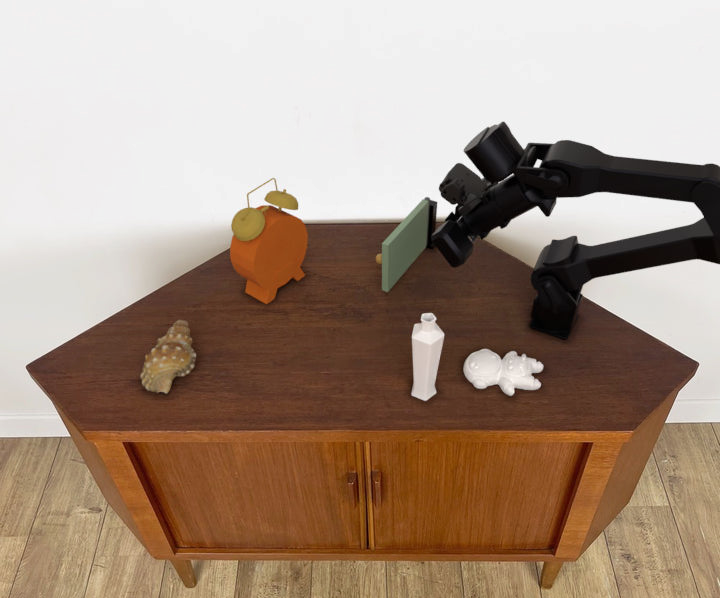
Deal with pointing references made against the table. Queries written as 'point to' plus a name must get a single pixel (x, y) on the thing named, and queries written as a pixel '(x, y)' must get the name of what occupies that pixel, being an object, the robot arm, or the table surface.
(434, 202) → the door post
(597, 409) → the table surface
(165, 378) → the seashell
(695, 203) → the robot arm
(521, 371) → the astronaut figurine
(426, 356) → the perfume bottle
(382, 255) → the green flat slab
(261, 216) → the alarm clock
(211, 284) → the table surface
